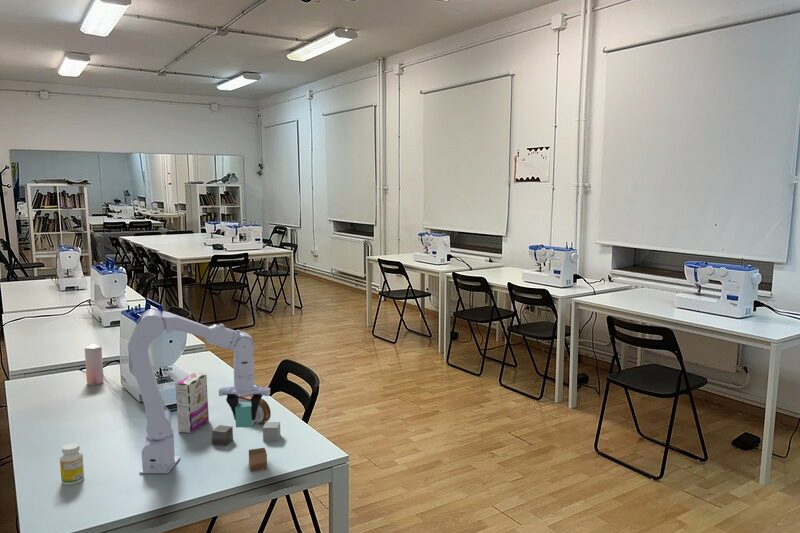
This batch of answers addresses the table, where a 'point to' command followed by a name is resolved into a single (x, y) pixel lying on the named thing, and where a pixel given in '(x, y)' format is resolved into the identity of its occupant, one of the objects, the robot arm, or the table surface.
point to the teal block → (244, 414)
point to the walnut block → (257, 459)
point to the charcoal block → (222, 435)
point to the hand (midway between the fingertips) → (245, 418)
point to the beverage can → (94, 364)
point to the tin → (262, 410)
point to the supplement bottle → (71, 464)
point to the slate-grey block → (271, 431)
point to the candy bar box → (192, 402)
